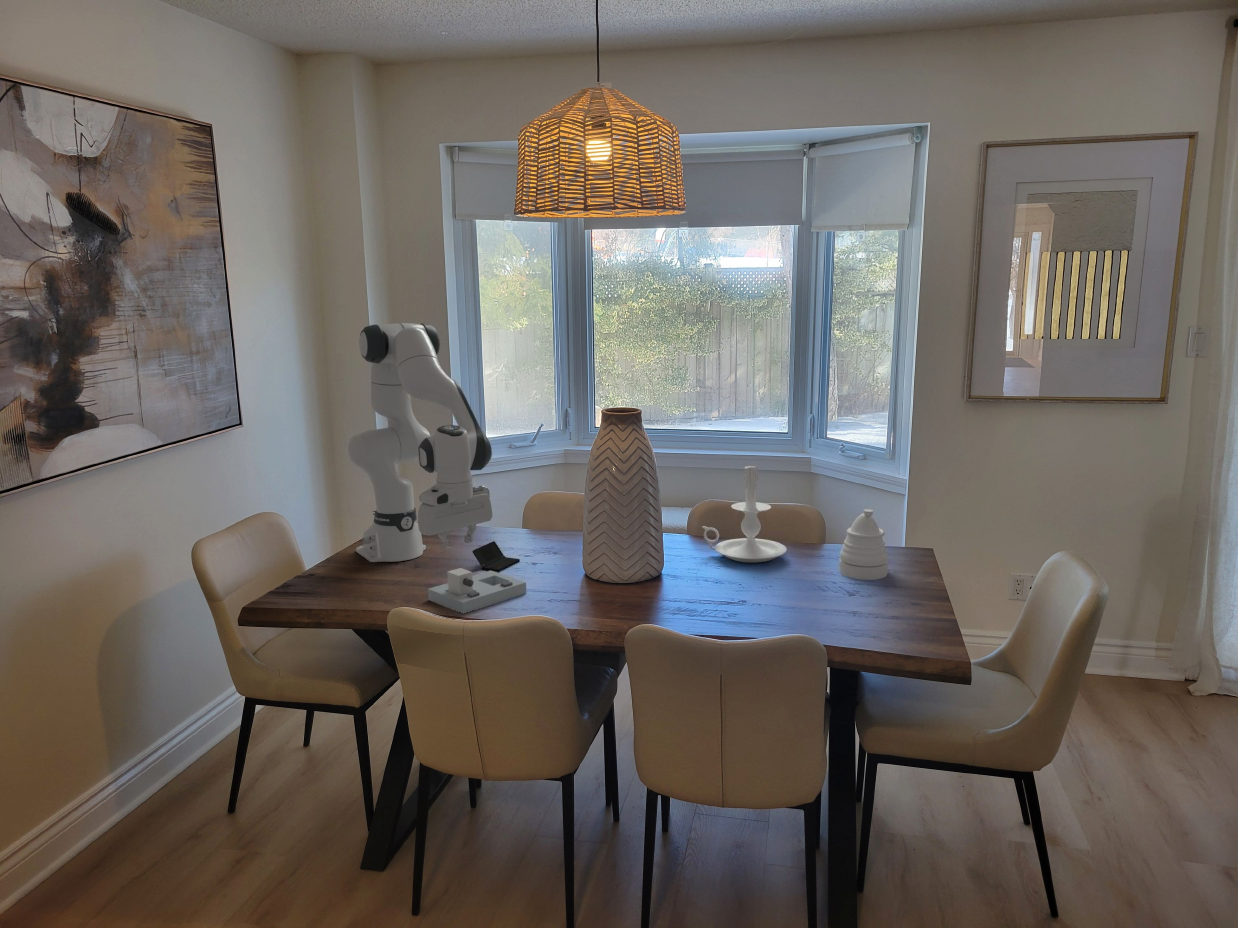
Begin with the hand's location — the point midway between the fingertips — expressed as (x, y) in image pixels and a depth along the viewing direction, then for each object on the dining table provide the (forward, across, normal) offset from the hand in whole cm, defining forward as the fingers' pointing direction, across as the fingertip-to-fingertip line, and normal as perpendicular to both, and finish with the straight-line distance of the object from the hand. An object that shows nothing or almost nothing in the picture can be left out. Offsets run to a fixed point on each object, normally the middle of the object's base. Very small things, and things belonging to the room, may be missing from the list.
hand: (458, 544), depth 216 cm
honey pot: (+15, -88, +64) cm, 110 cm away
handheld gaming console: (+15, -25, -18) cm, 35 cm away
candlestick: (+15, -77, +32) cm, 85 cm away
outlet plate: (+15, -5, 0) cm, 16 cm away
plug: (+15, 0, 0) cm, 15 cm away
